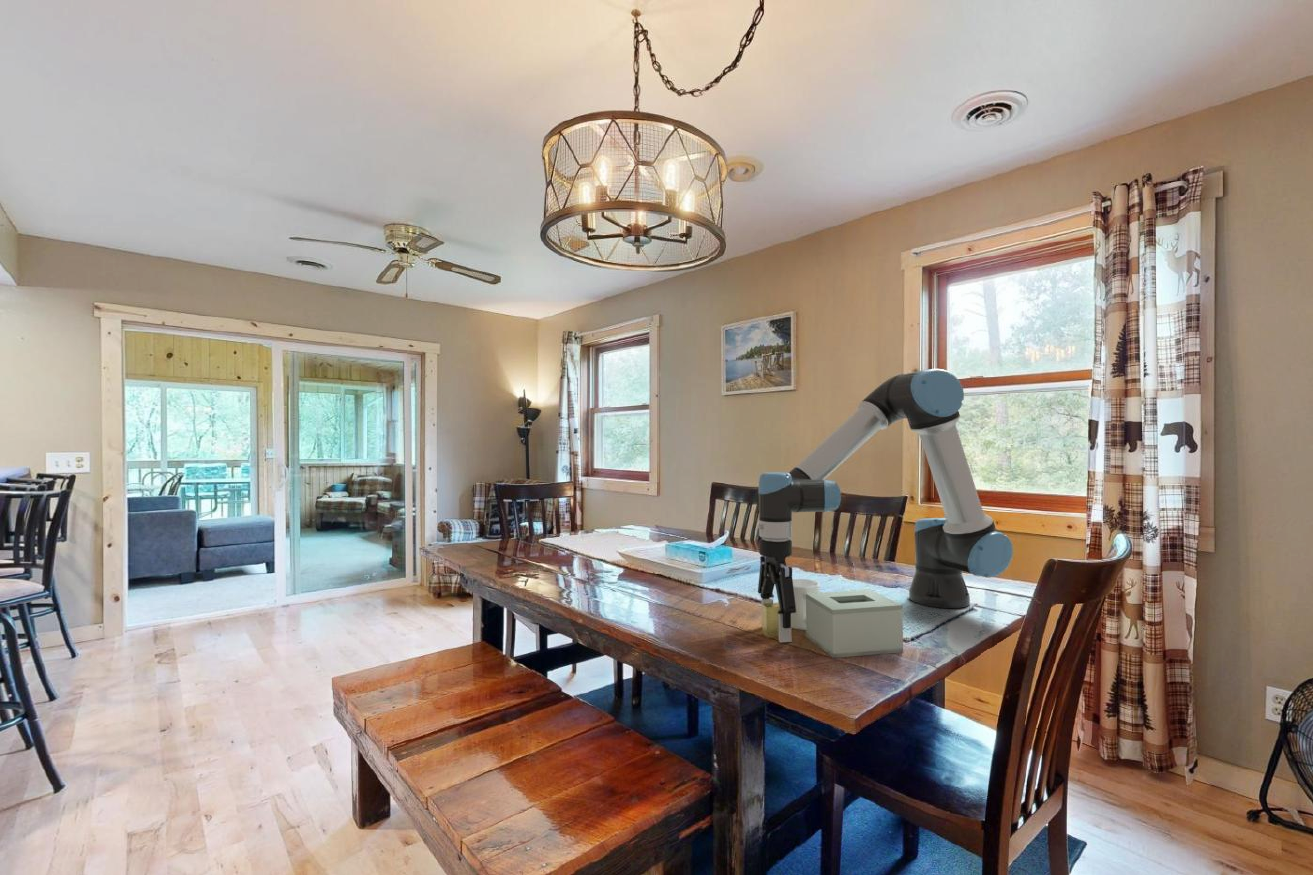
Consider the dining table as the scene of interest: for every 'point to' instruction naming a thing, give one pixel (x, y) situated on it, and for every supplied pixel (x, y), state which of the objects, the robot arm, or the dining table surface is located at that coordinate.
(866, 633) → the box
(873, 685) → the dining table surface
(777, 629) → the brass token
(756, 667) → the dining table surface
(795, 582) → the mug
